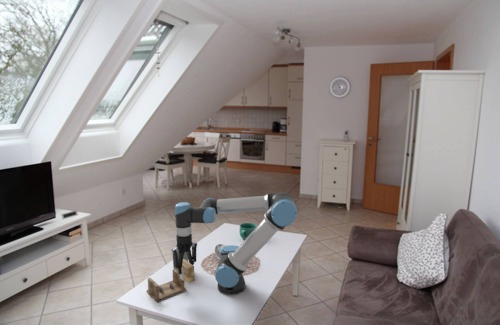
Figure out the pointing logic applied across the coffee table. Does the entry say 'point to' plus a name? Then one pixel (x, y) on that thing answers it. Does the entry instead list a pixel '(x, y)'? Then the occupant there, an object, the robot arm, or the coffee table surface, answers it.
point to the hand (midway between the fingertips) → (186, 277)
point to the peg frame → (165, 288)
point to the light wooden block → (187, 272)
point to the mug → (246, 229)
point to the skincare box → (178, 257)
